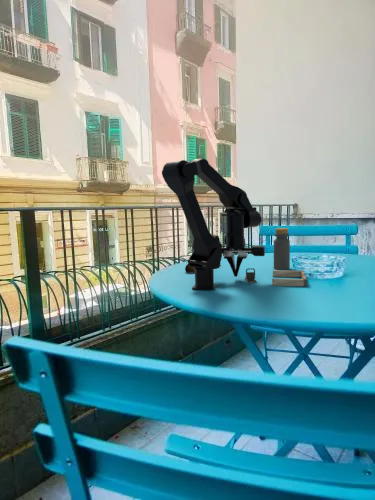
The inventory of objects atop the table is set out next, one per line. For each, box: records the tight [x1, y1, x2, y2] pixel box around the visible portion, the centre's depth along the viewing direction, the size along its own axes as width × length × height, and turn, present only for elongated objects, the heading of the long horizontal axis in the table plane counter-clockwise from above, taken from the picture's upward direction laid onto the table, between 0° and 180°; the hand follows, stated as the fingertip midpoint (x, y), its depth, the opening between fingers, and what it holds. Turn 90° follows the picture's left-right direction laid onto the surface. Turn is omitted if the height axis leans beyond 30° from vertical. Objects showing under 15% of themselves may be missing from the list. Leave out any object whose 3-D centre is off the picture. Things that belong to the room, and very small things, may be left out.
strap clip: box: [244, 267, 258, 284], centre depth 118 cm, size 8×3×4 cm, turn 179°
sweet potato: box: [184, 261, 222, 274], centre depth 140 cm, size 18×7×7 cm, turn 156°
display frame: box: [271, 269, 308, 287], centre depth 116 cm, size 14×10×2 cm
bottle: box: [273, 227, 291, 271], centre depth 135 cm, size 6×6×15 cm
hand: (235, 276), depth 120 cm, fingers closed
